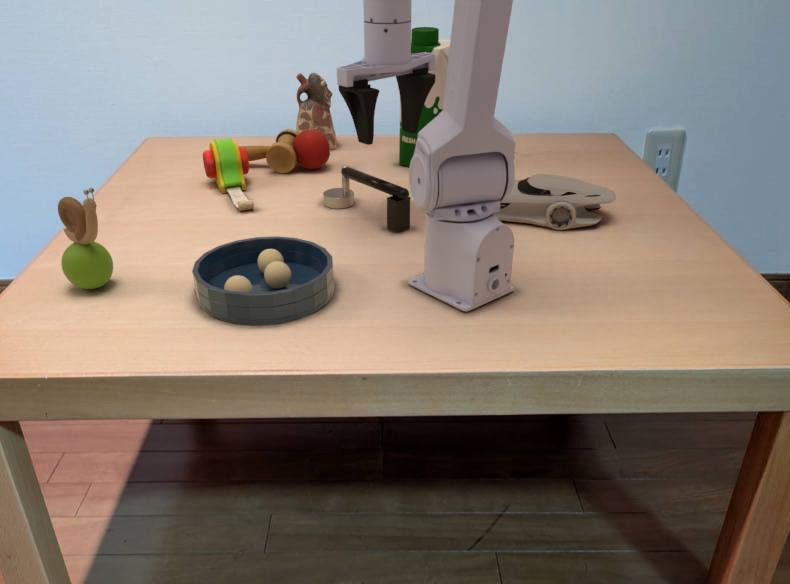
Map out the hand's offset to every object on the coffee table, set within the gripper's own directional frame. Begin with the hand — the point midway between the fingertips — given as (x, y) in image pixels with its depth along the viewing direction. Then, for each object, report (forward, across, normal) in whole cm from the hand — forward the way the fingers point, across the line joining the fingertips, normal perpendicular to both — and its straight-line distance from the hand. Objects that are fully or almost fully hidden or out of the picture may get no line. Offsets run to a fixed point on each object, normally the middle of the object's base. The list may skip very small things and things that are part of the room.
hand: (388, 137), depth 95 cm
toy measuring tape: (+11, +11, -23) cm, 28 cm away
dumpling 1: (+8, +30, +10) cm, 33 cm away
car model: (+11, -14, +12) cm, 21 cm away
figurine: (+11, -12, -33) cm, 37 cm away
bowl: (+10, +26, +9) cm, 29 cm away
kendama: (+11, 0, -28) cm, 30 cm away
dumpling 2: (+8, +24, +6) cm, 26 cm away
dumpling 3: (+8, +25, +10) cm, 28 cm away
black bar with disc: (+10, +2, -2) cm, 11 cm away
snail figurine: (+11, +40, -5) cm, 42 cm away
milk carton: (+11, -20, -13) cm, 26 cm away
